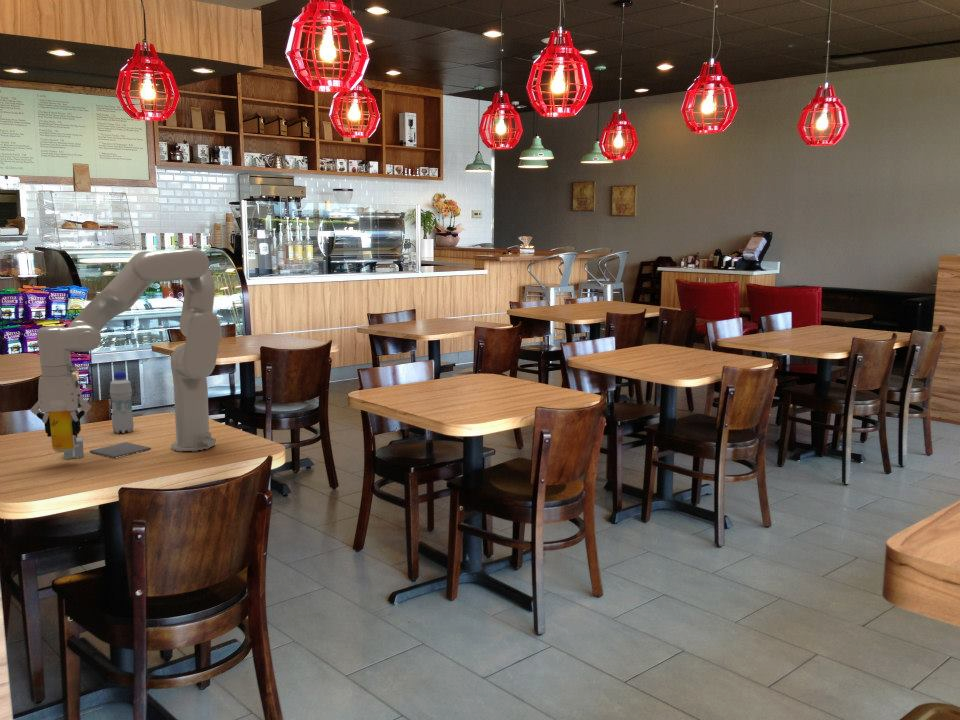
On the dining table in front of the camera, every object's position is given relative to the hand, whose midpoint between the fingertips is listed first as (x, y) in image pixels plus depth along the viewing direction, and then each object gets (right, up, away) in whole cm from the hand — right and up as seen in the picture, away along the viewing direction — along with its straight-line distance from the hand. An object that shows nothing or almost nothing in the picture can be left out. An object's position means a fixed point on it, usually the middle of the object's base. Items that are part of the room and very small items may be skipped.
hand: (63, 434), depth 224 cm
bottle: (-1, -3, +39) cm, 39 cm away
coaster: (+9, -7, +16) cm, 19 cm away
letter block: (-2, -7, +10) cm, 13 cm away
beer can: (0, -5, +1) cm, 5 cm away
